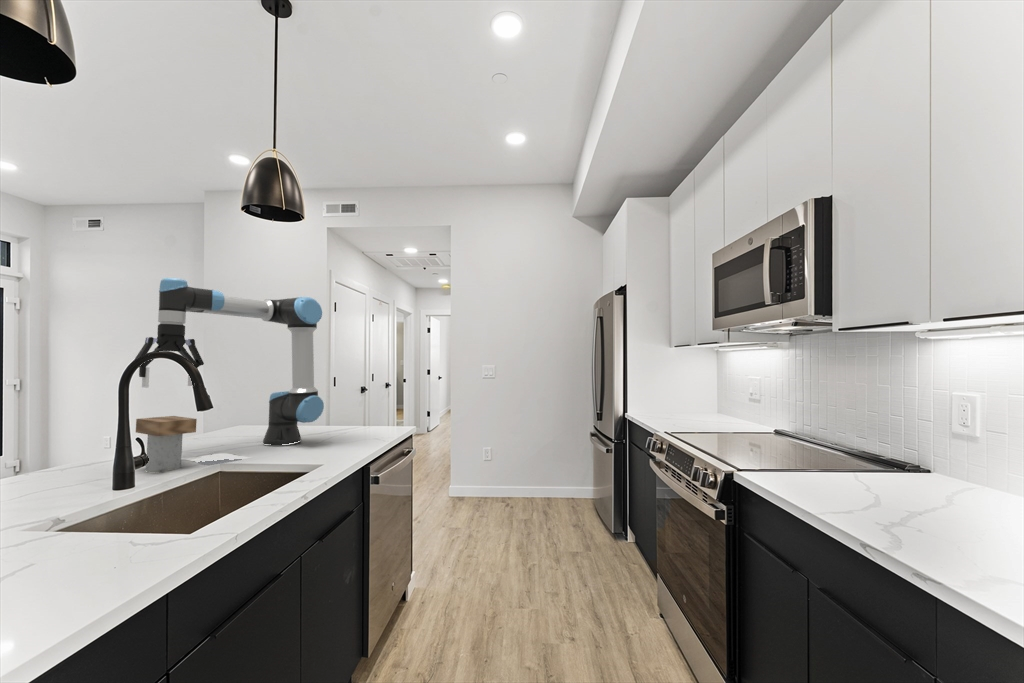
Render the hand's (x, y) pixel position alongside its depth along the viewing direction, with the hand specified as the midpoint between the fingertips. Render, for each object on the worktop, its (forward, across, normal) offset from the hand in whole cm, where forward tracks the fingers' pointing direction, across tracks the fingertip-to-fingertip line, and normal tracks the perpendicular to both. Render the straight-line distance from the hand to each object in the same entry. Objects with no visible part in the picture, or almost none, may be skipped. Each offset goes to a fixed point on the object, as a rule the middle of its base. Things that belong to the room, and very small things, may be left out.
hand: (168, 386), depth 155 cm
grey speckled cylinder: (+28, 0, 0) cm, 28 cm away
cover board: (+15, 0, 0) cm, 15 cm away
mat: (+28, -18, -2) cm, 33 cm away
